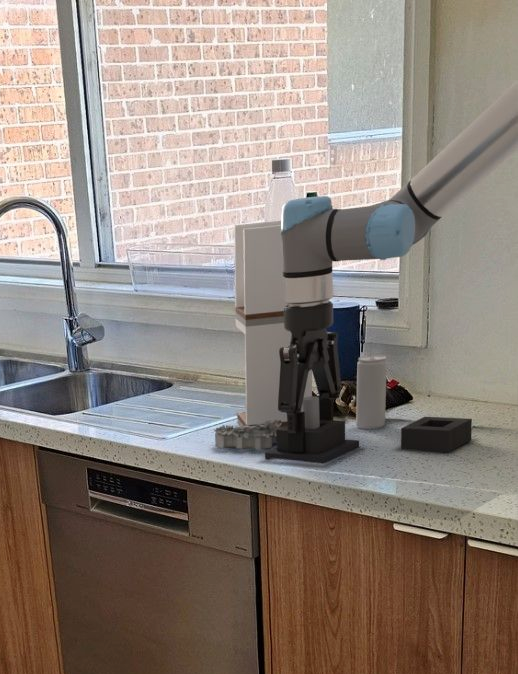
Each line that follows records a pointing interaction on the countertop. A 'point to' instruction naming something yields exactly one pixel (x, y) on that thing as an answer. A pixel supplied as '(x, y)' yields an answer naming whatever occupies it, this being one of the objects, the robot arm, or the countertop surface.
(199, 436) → the countertop surface
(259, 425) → the egg carton
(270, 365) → the striped white tower
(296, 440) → the robot arm
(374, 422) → the beverage can
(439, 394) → the countertop surface
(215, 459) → the countertop surface
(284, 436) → the black square ring block
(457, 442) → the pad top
